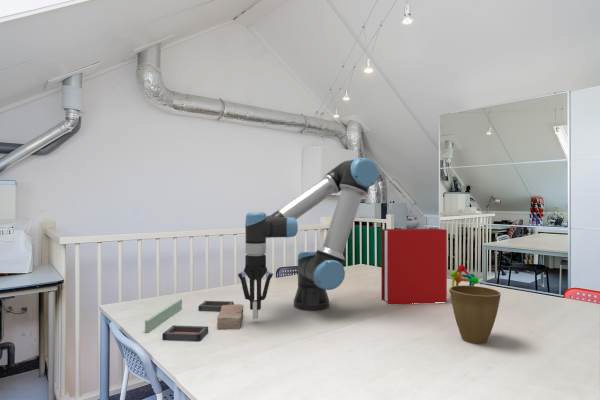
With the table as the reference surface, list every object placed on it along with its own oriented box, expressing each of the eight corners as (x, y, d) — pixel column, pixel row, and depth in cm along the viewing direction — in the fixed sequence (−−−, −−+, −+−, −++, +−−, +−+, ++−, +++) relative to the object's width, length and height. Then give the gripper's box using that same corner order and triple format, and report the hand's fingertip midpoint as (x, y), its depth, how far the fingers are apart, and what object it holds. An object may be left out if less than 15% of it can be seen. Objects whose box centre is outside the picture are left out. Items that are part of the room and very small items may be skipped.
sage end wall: (181, 308, 156) (181, 299, 156) (148, 332, 128) (148, 320, 128) (179, 308, 156) (179, 299, 156) (145, 332, 128) (145, 320, 128)
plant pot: (498, 352, 112) (498, 298, 112) (445, 342, 120) (445, 291, 120) (502, 336, 124) (502, 288, 124) (454, 328, 132) (454, 283, 132)
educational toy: (483, 301, 171) (484, 269, 170) (454, 301, 172) (455, 269, 170) (469, 290, 187) (470, 260, 185) (443, 290, 187) (443, 260, 186)
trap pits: (233, 306, 160) (233, 301, 160) (199, 341, 120) (199, 334, 120) (205, 305, 161) (205, 300, 161) (162, 339, 122) (162, 333, 122)
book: (387, 304, 162) (387, 230, 162) (381, 300, 170) (381, 229, 170) (448, 303, 165) (448, 230, 165) (439, 298, 173) (439, 228, 173)
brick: (240, 329, 132) (240, 316, 132) (216, 330, 131) (216, 316, 131) (243, 315, 148) (243, 303, 148) (221, 316, 148) (221, 304, 148)
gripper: (274, 253, 142) (274, 315, 142) (240, 252, 143) (240, 314, 143) (271, 256, 135) (271, 322, 135) (235, 255, 136) (235, 321, 136)
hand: (255, 318), depth 139 cm, fingers closed
